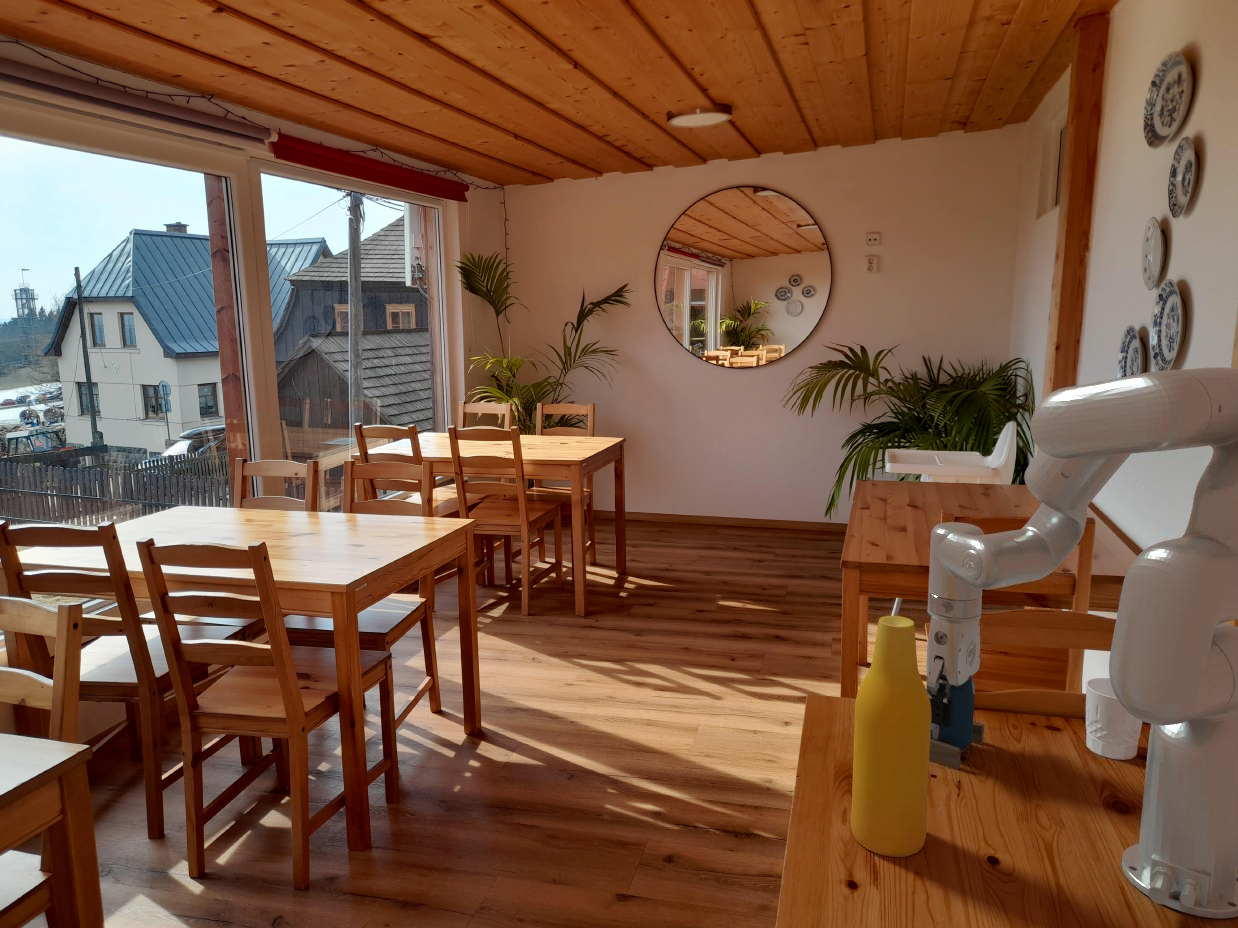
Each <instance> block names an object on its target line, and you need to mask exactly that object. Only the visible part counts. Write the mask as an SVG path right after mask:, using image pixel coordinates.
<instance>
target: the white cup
mask: <svg viewBox="0 0 1238 928" xmlns="http://www.w3.org/2000/svg"><path fill="white" fill-rule="evenodd" d="M1085 685H1086V686H1085V687H1086V688H1085V689H1086V691H1085V729H1086V730H1085V731H1086V735H1085V736H1086V737H1085V743H1086V747H1087V748H1088V749H1089V750H1090V751H1091V752H1093V753H1094V754H1096V755H1099V756H1102V757H1105V758H1108V759H1113V760H1119V761H1120V760H1122V761H1123V760H1125V761H1126V760H1131V759H1134V758H1136V756H1137V753H1138V745H1139V739H1140V736H1141V733H1142V732H1141V731H1142V727H1143V721H1141V720H1139V719H1137V718H1136V717H1134V716H1133V715H1131V714H1130V713H1129V712H1128V711H1127V710H1126V709H1125V708H1124V707H1123V706H1122V705H1121V704H1120V702H1119V701H1118V699H1117V697H1116V696H1115V694H1114V691H1113V689H1112V686H1111V682H1110V677H1096V678H1091V679H1089V680H1087V681H1086V684H1085Z"/></svg>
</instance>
